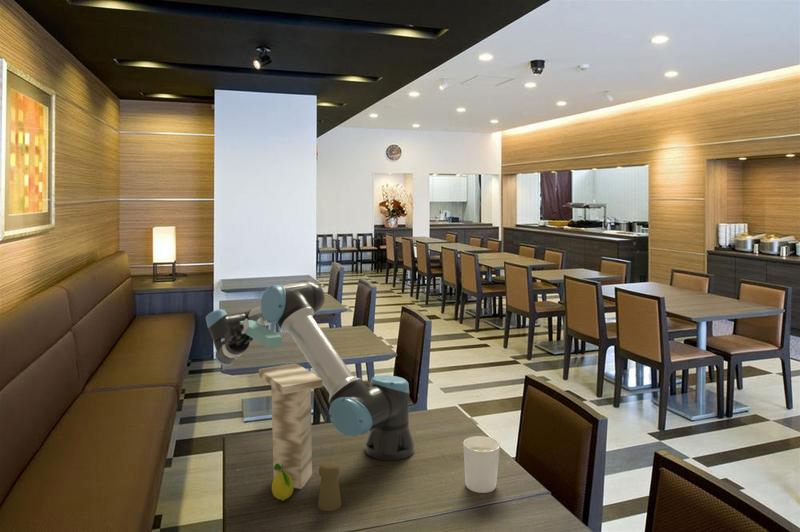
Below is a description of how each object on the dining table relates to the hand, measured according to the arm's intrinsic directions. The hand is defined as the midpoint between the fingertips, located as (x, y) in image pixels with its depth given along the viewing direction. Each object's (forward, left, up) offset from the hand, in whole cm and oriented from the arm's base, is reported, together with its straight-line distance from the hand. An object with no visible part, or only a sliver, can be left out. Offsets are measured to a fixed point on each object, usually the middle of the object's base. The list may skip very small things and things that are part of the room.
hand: (254, 322), depth 176 cm
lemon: (-21, +30, -40) cm, 54 cm away
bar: (-3, +3, -4) cm, 6 cm away
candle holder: (-71, +12, -40) cm, 82 cm away
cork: (-34, +30, -40) cm, 60 cm away
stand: (-19, +19, -39) cm, 48 cm away
